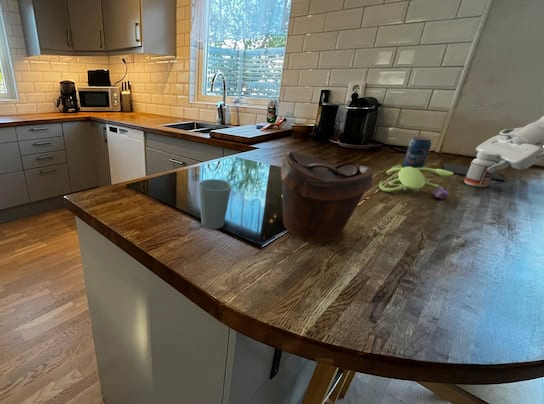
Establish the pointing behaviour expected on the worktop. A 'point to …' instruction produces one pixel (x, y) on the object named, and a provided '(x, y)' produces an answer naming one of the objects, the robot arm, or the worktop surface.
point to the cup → (214, 202)
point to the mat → (464, 170)
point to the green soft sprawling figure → (415, 180)
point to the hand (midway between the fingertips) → (480, 167)
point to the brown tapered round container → (320, 195)
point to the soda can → (417, 152)
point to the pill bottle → (481, 169)
